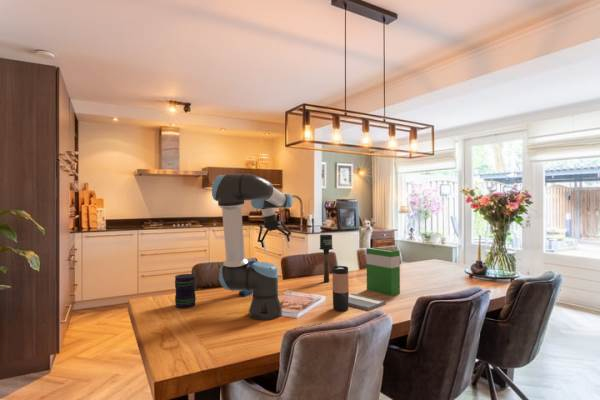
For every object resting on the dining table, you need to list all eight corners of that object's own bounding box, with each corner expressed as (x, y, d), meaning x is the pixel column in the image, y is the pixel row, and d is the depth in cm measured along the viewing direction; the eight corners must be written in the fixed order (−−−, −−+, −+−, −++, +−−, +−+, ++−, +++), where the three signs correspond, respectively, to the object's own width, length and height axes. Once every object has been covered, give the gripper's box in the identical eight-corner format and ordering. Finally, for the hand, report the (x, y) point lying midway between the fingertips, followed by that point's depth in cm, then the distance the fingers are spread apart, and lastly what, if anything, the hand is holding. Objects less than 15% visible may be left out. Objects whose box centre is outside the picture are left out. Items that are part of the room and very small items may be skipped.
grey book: (368, 310, 165) (368, 306, 165) (334, 301, 180) (333, 298, 180) (385, 303, 176) (385, 300, 176) (351, 296, 191) (351, 292, 191)
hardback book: (366, 289, 205) (366, 248, 205) (375, 287, 209) (374, 247, 209) (391, 295, 191) (391, 251, 191) (399, 293, 195) (399, 250, 195)
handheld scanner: (235, 296, 192) (235, 260, 191) (252, 289, 206) (253, 256, 206) (242, 297, 189) (242, 261, 189) (259, 291, 204) (259, 257, 204)
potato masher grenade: (322, 283, 220) (321, 235, 220) (318, 280, 228) (317, 234, 228) (335, 282, 222) (334, 235, 222) (330, 279, 230) (329, 234, 230)
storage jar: (200, 304, 178) (199, 275, 178) (184, 309, 170) (184, 278, 170) (186, 301, 183) (186, 273, 183) (170, 306, 175) (170, 276, 175)
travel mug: (347, 306, 172) (346, 265, 172) (350, 311, 165) (349, 268, 165) (331, 306, 172) (331, 266, 172) (333, 311, 164) (333, 269, 164)
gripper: (289, 209, 210) (297, 243, 211) (249, 219, 209) (257, 253, 211) (290, 210, 202) (298, 246, 204) (247, 220, 202) (256, 256, 203)
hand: (277, 249), depth 207 cm, fingers open, 13 cm apart
